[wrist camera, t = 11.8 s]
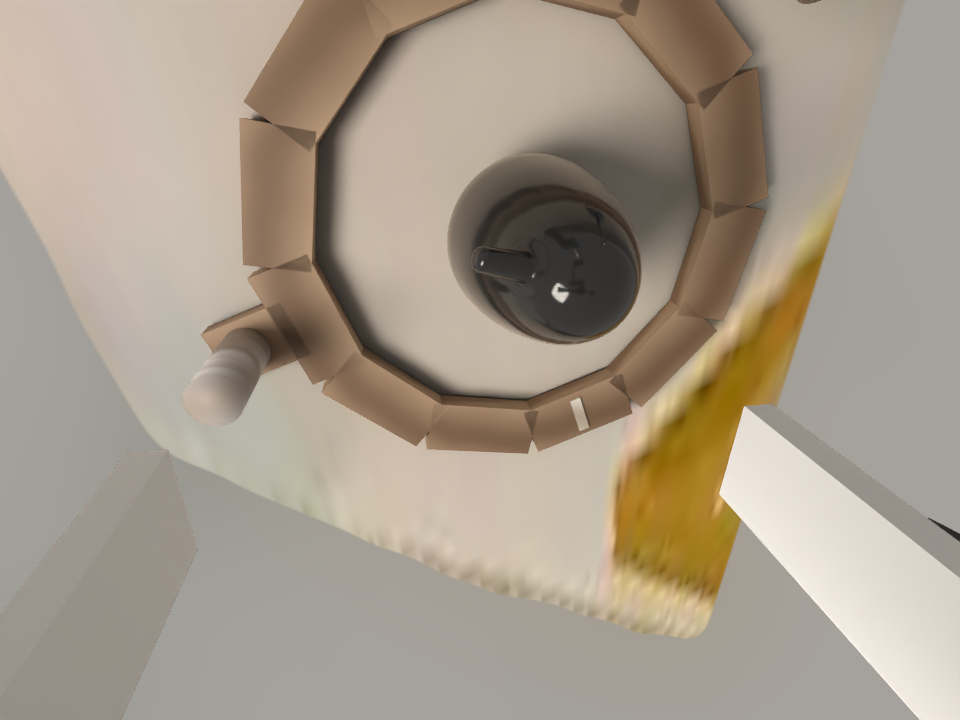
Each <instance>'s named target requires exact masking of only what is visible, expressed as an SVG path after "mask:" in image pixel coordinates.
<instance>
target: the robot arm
mask: <svg viewBox="0 0 960 720" xmlns="http://www.w3.org/2000/svg"><path fill="white" fill-rule="evenodd" d="M719 494H720V495H721V497H722V498H723V499H724V500H725V501H726V502H727V503H728V504H729V506H730V507H731V508H732V509H733V510H734V511H735V512H736V513H737V515H738V516H739V517H740V518H741V519H742V520H743V521H744V522H745V524H746V525H747V526H748V527H749V528H750V529H751V530H752V531H753V532H754V534H755V535H756V536H757V537H758V538H759V539H760V540H761V541H762V543H763V544H764V545H765V546H766V547H767V548H768V549H769V551H770V552H771V553H772V554H773V555H774V556H775V557H776V558H777V560H778V561H779V562H780V563H781V564H782V565H783V566H784V567H785V569H786V570H787V571H788V572H789V573H790V574H791V575H792V576H793V577H794V579H795V580H796V581H797V582H798V583H799V584H800V586H801V587H802V588H803V589H804V590H805V591H806V592H807V593H808V594H809V596H810V597H811V598H812V599H813V600H814V601H815V602H816V604H817V605H818V606H819V607H820V608H821V609H822V610H823V611H824V613H825V614H826V615H827V616H828V617H829V618H830V619H831V620H832V621H833V623H834V624H835V625H836V626H837V627H838V628H839V629H840V630H841V632H842V633H843V634H844V635H845V636H846V637H847V638H848V640H849V641H850V642H851V643H852V644H853V645H854V646H855V647H856V649H857V650H858V651H859V652H860V653H861V654H862V655H863V656H864V658H865V659H866V660H867V661H868V662H869V663H870V664H871V665H872V666H873V668H874V669H875V670H876V671H877V672H878V673H879V674H880V676H881V677H882V678H883V679H884V680H885V681H886V682H887V683H888V685H889V686H890V687H891V688H892V689H893V690H894V691H895V692H896V694H897V695H898V696H899V697H900V698H901V699H902V700H903V701H904V703H905V704H906V705H907V706H908V707H909V708H910V709H911V711H913V713H914V714H915V715H916V716H917V717H918V718H919V719H920V720H960V534H959V533H957V532H955V531H953V530H951V529H949V528H947V527H946V526H944V525H942V524H940V523H938V522H936V521H933V520H932V519H930V518H926V517H925V516H924V515H922V514H921V513H920V512H918V511H917V510H916V509H914V508H913V507H912V506H910V505H909V504H907V503H906V502H905V501H903V500H902V499H900V498H899V497H898V496H897V495H895V494H894V493H892V492H891V491H890V490H888V489H887V488H886V487H884V486H883V485H881V484H880V483H879V482H877V481H876V480H875V479H873V478H872V477H871V476H869V475H868V474H867V473H865V472H864V471H862V470H861V469H860V468H858V467H857V466H856V465H854V464H853V463H852V462H850V461H849V460H848V459H846V458H845V457H844V456H842V455H841V454H839V453H838V452H837V451H835V450H834V449H833V448H831V447H830V446H829V445H827V444H826V443H825V442H823V441H822V440H820V439H819V438H818V437H816V436H815V435H814V434H812V433H811V432H810V431H808V430H807V429H805V428H804V427H803V426H801V425H800V424H799V423H797V422H796V421H795V420H793V419H792V418H790V417H789V416H788V415H786V414H785V413H784V412H782V411H781V410H780V409H778V408H777V407H776V406H774V405H773V404H766V405H753V406H744V409H743V413H742V416H741V420H740V423H739V427H738V430H737V434H736V437H735V441H734V444H733V448H732V451H731V455H730V458H729V462H728V465H727V469H726V472H725V476H724V479H723V483H722V486H721V490H720V493H719ZM197 550H198V546H197V543H196V540H195V536H194V533H193V530H192V527H191V524H190V520H189V517H188V514H187V510H186V507H185V504H184V500H183V497H182V494H181V491H180V487H179V484H178V481H177V478H176V474H175V471H174V468H173V464H172V461H171V458H170V455H169V451H168V450H157V451H143V452H130V453H127V454H126V455H125V456H124V457H123V459H122V460H121V461H120V462H119V464H118V465H117V466H116V467H115V469H114V470H113V471H112V473H111V474H110V475H109V476H108V478H107V479H106V480H105V482H104V483H103V484H102V485H101V487H100V488H99V489H98V490H97V491H96V493H95V494H94V495H93V497H92V498H91V499H90V500H89V502H88V503H87V504H86V505H85V507H84V508H83V509H82V510H81V512H80V513H79V514H78V515H77V517H76V518H75V519H74V521H73V522H72V523H71V524H70V526H69V527H68V528H67V529H66V531H65V532H64V533H63V534H62V536H61V537H60V538H59V539H58V541H57V542H56V543H55V544H54V546H53V547H52V548H51V550H50V551H49V552H48V553H47V555H46V556H45V557H44V558H43V560H42V561H41V562H40V564H39V565H38V566H37V567H36V568H35V570H34V571H33V573H32V574H31V575H30V576H29V577H28V579H27V580H26V581H25V582H24V584H23V585H22V586H21V587H20V589H19V590H18V591H17V592H16V594H15V595H14V596H13V597H12V599H11V600H10V602H9V603H8V604H7V605H6V606H5V608H4V609H3V610H2V611H1V613H0V720H122V718H123V716H124V713H125V711H126V709H127V707H128V704H129V702H130V700H131V698H132V696H133V693H134V691H135V689H136V687H137V684H138V682H139V680H140V678H141V675H142V673H143V671H144V669H145V667H146V664H147V662H148V660H149V658H150V655H151V653H152V651H153V649H154V646H155V644H156V642H157V640H158V638H159V635H160V633H161V631H162V629H163V626H164V624H165V622H166V619H167V617H168V615H169V613H170V611H171V608H172V606H173V604H174V602H175V599H176V597H177V595H178V593H179V590H180V588H181V586H182V584H183V582H184V579H185V577H186V575H187V573H188V570H189V568H190V565H191V564H192V561H193V559H194V557H195V555H196V553H197Z"/></svg>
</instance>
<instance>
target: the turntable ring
mask: <svg viewBox="0 0 960 720" xmlns="http://www.w3.org/2000/svg"><path fill="white" fill-rule="evenodd" d="M475 1H477V0H304V2H303V4H302V5H301V7H300V9H299V10H298V12H297V14H296V15H295V17H294V19H293V20H292V22H291V24H290V25H289V27H288V29H287V30H286V32H285V34H284V35H283V37H282V39H281V40H280V42H279V44H278V45H277V47H276V49H275V50H274V52H273V54H272V55H271V57H270V59H269V60H268V62H267V64H266V65H265V67H264V69H263V70H262V72H261V74H260V75H259V77H258V79H257V80H256V82H255V84H254V85H253V87H252V89H251V90H250V92H249V94H248V95H247V97H246V99H245V100H244V102H245V103H246V104H247V105H248V106H250V107H251V108H252V109H254V110H255V111H256V112H258V113H259V114H260V115H262V116H263V117H264V118H265V119H267V120H268V121H269V122H264V121H258V120H252V119H247V118H240V159H241V200H242V240H243V265H248V266H257V267H265V268H263V269H260V270H258V271H255V272H253V273H252V274H251V275H250V276H249V278H248V281H249V282H250V284H251V285H252V287H253V289H254V290H255V292H256V293H257V295H258V297H259V298H260V300H261V302H262V303H263V304H262V305H259V306H257V307H254V308H252V309H250V310H247V311H245V312H242V313H240V314H237V315H235V316H233V317H230V318H228V319H225V320H223V321H221V322H218V323H216V324H213V325H211V326H209V327H208V328H207V329H206V330H205V331H204V332H203V333H202V334H201V336H202V337H203V339H204V340H205V341H206V343H207V344H208V346H209V347H210V349H211V350H212V351H213V353H212V354H211V356H210V357H209V358H208V360H207V361H206V362H205V363H204V365H203V366H202V367H201V369H200V370H199V371H198V373H197V374H196V375H195V376H194V378H193V379H192V380H191V382H190V383H189V384H188V385H187V387H186V388H185V390H184V392H183V396H182V401H183V405H184V408H185V410H186V411H187V413H188V414H189V415H190V416H191V417H192V418H194V419H195V420H196V421H198V422H200V423H203V424H206V425H210V426H223V425H227V424H230V423H232V422H234V421H235V420H236V419H237V418H238V417H239V416H240V415H241V413H242V411H243V409H244V407H245V406H246V404H247V402H248V400H249V398H250V396H251V394H252V392H253V390H254V388H255V386H256V384H257V382H258V380H259V378H260V376H261V375H262V374H264V373H266V372H269V371H271V370H274V369H276V368H279V367H281V366H283V365H286V364H288V363H291V362H293V361H296V360H298V361H299V363H300V365H301V366H302V368H303V369H304V371H305V373H306V374H307V376H308V378H309V379H310V381H311V382H312V384H315V383H318V382H320V381H323V380H325V379H327V380H326V382H325V383H324V386H323V390H322V393H323V394H324V395H326V396H328V397H330V398H332V399H333V400H335V401H337V402H339V403H340V404H342V405H344V406H346V407H348V408H349V409H351V410H353V411H355V412H356V413H358V414H360V415H362V416H363V417H365V418H367V419H369V420H371V421H372V422H374V423H376V424H378V425H379V426H381V427H383V428H385V429H387V430H388V431H390V432H392V433H394V434H395V435H397V436H399V437H401V438H403V439H404V440H406V441H408V442H410V443H411V444H413V445H415V446H417V445H418V444H419V442H420V441H421V440H422V439H423V438H424V437H425V435H426V446H427V449H435V450H457V451H480V452H503V453H526V454H528V451H529V447H530V443H531V439H532V438H533V441H534V443H535V445H536V447H537V450H538V452H539V451H541V450H544V449H546V448H549V447H551V446H554V445H556V444H559V443H561V442H564V441H566V440H568V439H571V438H573V437H576V436H578V435H581V434H583V433H586V432H588V431H591V430H593V429H595V428H598V427H600V426H603V425H605V424H608V423H610V422H613V421H615V420H618V419H620V418H622V417H625V416H627V415H630V414H632V410H631V406H630V402H629V399H628V397H629V398H630V399H631V400H633V401H634V402H635V403H637V404H638V405H639V406H641V407H642V406H643V405H644V404H645V403H646V402H647V401H648V400H649V399H650V398H651V397H652V396H653V395H654V394H655V393H656V392H657V391H658V390H659V389H660V388H661V387H662V386H663V385H664V384H665V383H666V382H667V381H668V380H669V379H670V378H671V377H672V376H673V375H674V374H675V373H676V372H677V371H678V370H679V369H680V368H681V367H682V366H683V365H684V364H685V363H686V362H687V361H688V360H689V359H690V358H691V357H692V356H693V355H694V354H695V353H696V352H697V350H698V349H699V348H700V347H701V346H702V345H703V344H704V343H705V342H706V341H707V340H708V339H709V338H710V337H711V336H712V335H713V334H714V333H715V332H716V331H717V330H716V329H715V328H714V327H713V326H712V325H711V324H710V323H709V322H708V321H707V320H705V319H704V318H706V319H715V320H723V321H724V318H725V316H726V313H727V311H728V308H729V305H730V303H731V300H732V298H733V295H734V293H735V290H736V287H737V285H738V282H739V280H740V277H741V274H742V272H743V269H744V267H745V264H746V261H747V259H748V256H749V254H750V251H751V249H752V246H753V243H754V241H755V238H756V236H757V233H758V230H759V228H760V225H761V223H762V220H763V217H764V215H765V212H766V210H762V209H758V208H753V207H748V205H751V204H753V203H756V202H758V201H761V200H763V199H765V198H768V187H767V175H766V163H765V151H764V139H763V126H762V114H761V102H760V90H759V78H758V67H757V68H750V69H744V70H740V71H738V70H739V69H740V68H741V67H742V66H743V65H744V63H745V62H746V61H747V60H748V59H749V58H750V56H751V55H752V54H753V53H752V52H751V50H750V49H749V47H748V46H747V45H746V43H745V42H744V40H743V39H742V38H741V36H740V35H739V33H738V32H737V31H736V29H735V28H734V26H733V25H732V24H731V22H730V21H729V19H728V18H727V17H726V15H725V14H724V13H723V11H722V10H721V8H720V7H719V6H718V4H717V3H716V1H715V0H542V1H546V2H550V3H554V4H558V5H562V6H566V7H570V8H574V9H578V10H582V11H586V12H589V13H593V14H597V15H601V16H605V17H609V18H613V19H615V20H616V21H617V22H618V23H619V24H620V26H621V27H622V28H623V29H624V30H625V32H626V33H627V34H628V35H629V36H630V38H631V39H632V40H633V41H634V42H635V44H636V45H637V46H638V47H639V48H640V50H641V51H642V52H643V53H644V55H645V56H646V57H647V58H648V59H649V61H650V62H651V63H652V64H653V65H654V67H655V68H656V69H657V70H658V71H659V73H660V74H661V75H662V76H663V77H664V79H665V80H666V81H667V82H668V83H669V85H670V86H671V87H672V88H673V89H674V91H675V92H676V93H677V94H678V96H679V97H680V98H681V99H682V100H683V102H684V103H685V104H686V110H687V117H688V124H689V131H690V138H691V145H692V151H693V158H694V165H695V172H696V179H697V185H698V192H699V199H700V206H701V208H700V211H699V214H698V217H697V220H696V223H695V226H694V229H693V232H692V235H691V238H690V241H689V244H688V247H687V250H686V253H685V256H684V259H683V262H682V265H681V268H680V271H679V274H678V277H677V280H676V283H675V286H674V289H673V292H672V295H671V298H670V301H669V302H668V303H667V304H666V305H665V306H664V307H663V308H662V310H661V311H660V312H659V313H658V314H657V315H656V316H655V317H654V318H653V319H652V320H651V321H650V322H649V323H648V324H647V326H646V327H645V328H644V329H643V330H642V331H641V332H640V333H639V334H638V335H637V336H636V337H635V338H634V339H633V340H632V342H631V343H630V344H629V345H628V346H627V347H626V348H625V349H624V350H623V351H622V352H621V353H620V354H619V355H618V356H617V358H616V359H615V360H614V361H613V362H612V363H611V364H610V365H609V366H608V367H607V368H605V369H603V370H600V371H598V372H596V373H593V374H591V375H588V376H586V377H583V378H581V379H578V380H576V381H573V382H571V383H569V384H566V385H564V386H561V387H559V388H556V389H554V390H551V391H549V392H547V393H544V394H542V395H539V396H537V397H534V398H532V399H529V400H527V401H521V400H506V399H491V398H477V397H462V396H448V395H439V394H438V393H436V392H434V391H433V390H431V389H430V388H428V387H426V386H425V385H423V384H422V383H420V382H418V381H417V380H415V379H414V378H412V377H410V376H409V375H407V374H406V373H404V372H402V371H401V370H399V369H398V368H396V367H395V366H393V365H391V364H390V363H388V362H387V361H385V360H383V359H382V358H380V357H379V356H377V355H375V354H374V353H372V352H371V351H369V350H367V349H366V348H364V347H363V346H362V344H361V342H360V340H359V338H358V337H357V335H356V333H355V331H354V329H353V327H352V325H351V324H350V322H349V320H348V318H347V316H346V314H345V312H344V311H343V309H342V307H341V305H340V303H339V301H338V299H337V298H336V296H335V294H334V292H333V290H332V288H331V286H330V285H329V283H328V281H327V279H326V277H325V275H324V273H323V272H322V270H321V268H320V266H319V264H318V262H317V260H316V259H315V241H316V212H317V182H318V153H319V141H320V140H321V138H322V137H323V135H324V134H325V132H326V131H327V129H328V128H329V126H330V125H331V123H332V122H333V120H334V119H335V117H336V116H337V114H338V113H339V111H340V109H341V108H342V106H343V105H344V103H345V102H346V100H347V99H348V97H349V96H350V94H351V93H352V91H353V90H354V88H355V87H356V85H357V84H358V82H359V80H360V79H361V77H362V76H363V74H364V73H365V71H366V70H367V68H368V67H369V65H370V64H371V62H372V61H373V59H374V58H375V56H376V55H377V53H378V52H379V50H380V48H381V47H382V45H383V44H384V42H385V41H386V39H387V38H389V37H391V36H394V35H396V34H398V33H401V32H403V31H405V30H408V29H410V28H413V27H415V26H417V25H420V24H422V23H425V22H427V21H429V20H432V19H434V18H437V17H439V16H441V15H444V14H446V13H449V12H451V11H453V10H456V9H458V8H460V7H463V6H465V5H468V4H470V3H472V2H475ZM270 122H271V123H270Z"/></svg>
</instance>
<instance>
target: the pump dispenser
mask: <svg viewBox="0 0 960 720" xmlns="http://www.w3.org/2000/svg"><path fill="white" fill-rule="evenodd" d="M447 248H448V256H449V261H450V265H451V269H452V272H453V274H454V277H455V279H456V281H457V283H458V285H459V286H460V288H461V290H462V291H463V293H464V294H465V295H466V297H467V298H468V299H469V300H470V301H471V303H472V304H473V305H474V306H475V307H477V308H478V309H479V310H480V311H481V312H482V313H483V314H485V315H486V316H487V317H488V318H490V319H491V320H492V321H494V322H495V323H497V324H498V325H500V326H502V327H504V328H505V329H507V330H509V331H511V332H514V333H516V334H518V335H521V336H523V337H526V338H529V339H531V340H535V341H538V342H542V343H547V344H554V345H576V344H582V343H586V342H590V341H593V340H596V339H598V338H600V337H602V336H604V335H606V334H608V333H609V332H611V331H612V330H614V329H615V328H616V327H617V326H618V325H619V324H620V323H621V322H622V321H623V320H624V319H625V318H626V317H627V315H628V314H629V312H630V311H631V309H632V307H633V306H634V304H635V301H636V299H637V296H638V293H639V289H640V284H641V277H642V262H641V254H640V249H639V245H638V241H637V238H636V235H635V232H634V230H633V228H632V225H631V223H630V221H629V219H628V218H627V216H626V214H625V212H624V211H623V209H622V208H621V206H620V205H619V203H618V202H617V200H616V199H615V198H614V197H613V195H612V194H611V193H610V192H609V191H608V190H607V188H606V187H605V186H604V185H603V184H601V183H600V182H599V181H598V180H597V179H596V178H595V177H594V176H592V175H591V174H590V173H588V172H587V171H586V170H584V169H583V168H582V167H580V166H578V165H577V164H575V163H573V162H571V161H569V160H566V159H564V158H561V157H558V156H554V155H550V154H544V153H524V154H518V155H513V156H510V157H507V158H504V159H502V160H500V161H497V162H496V163H494V164H492V165H490V166H489V167H487V168H486V169H484V170H483V171H482V172H481V173H479V174H478V175H477V176H476V177H475V178H474V179H473V180H472V181H471V182H470V183H469V185H468V186H467V187H466V188H465V190H464V191H463V193H462V194H461V196H460V197H459V199H458V201H457V203H456V205H455V207H454V210H453V213H452V216H451V219H450V223H449V228H448V237H447Z"/></svg>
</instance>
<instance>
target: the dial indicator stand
mask: <svg viewBox="0 0 960 720" xmlns="http://www.w3.org/2000/svg"><path fill="white" fill-rule="evenodd" d="M797 1H798V2H800V3H803V4H810V3H814V2H818V1H821V0H797Z"/></svg>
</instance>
